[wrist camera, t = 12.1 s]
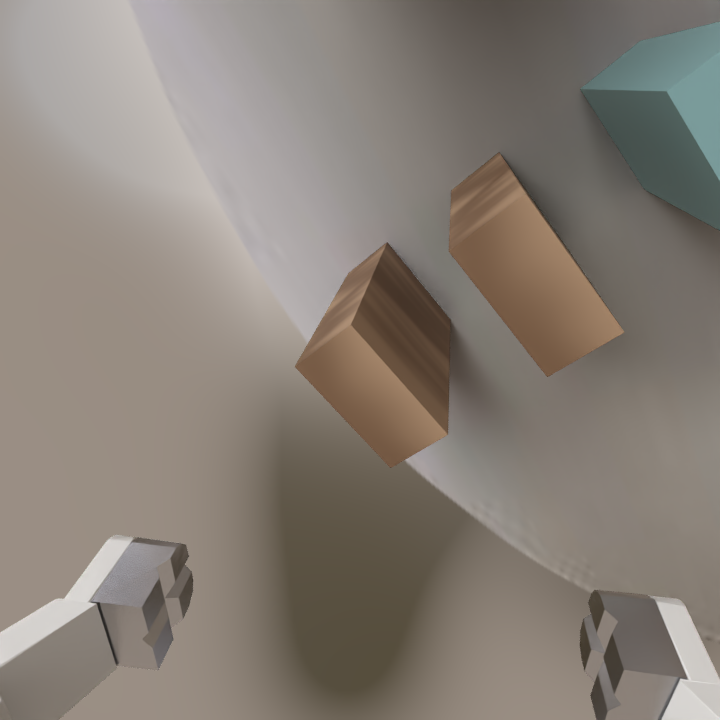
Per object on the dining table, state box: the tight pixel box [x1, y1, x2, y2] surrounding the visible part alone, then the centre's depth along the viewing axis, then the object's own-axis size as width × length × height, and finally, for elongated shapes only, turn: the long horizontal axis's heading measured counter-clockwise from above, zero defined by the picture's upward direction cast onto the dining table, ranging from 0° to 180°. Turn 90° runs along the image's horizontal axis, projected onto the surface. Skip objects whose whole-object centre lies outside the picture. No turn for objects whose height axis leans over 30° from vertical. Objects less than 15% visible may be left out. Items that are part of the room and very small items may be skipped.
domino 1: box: [449, 153, 624, 377], centre depth 24 cm, size 3×6×12 cm, turn 41°
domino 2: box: [580, 22, 720, 231], centre depth 21 cm, size 3×6×12 cm, turn 41°
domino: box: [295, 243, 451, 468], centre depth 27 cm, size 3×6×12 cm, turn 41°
